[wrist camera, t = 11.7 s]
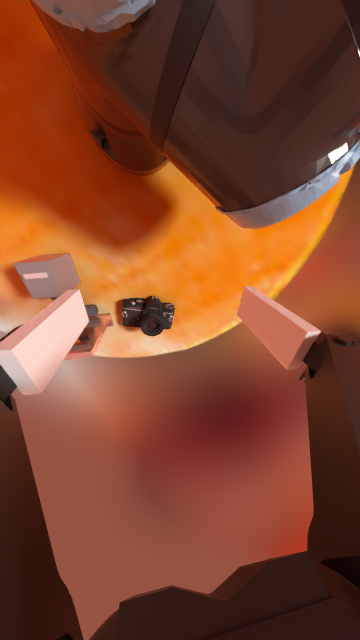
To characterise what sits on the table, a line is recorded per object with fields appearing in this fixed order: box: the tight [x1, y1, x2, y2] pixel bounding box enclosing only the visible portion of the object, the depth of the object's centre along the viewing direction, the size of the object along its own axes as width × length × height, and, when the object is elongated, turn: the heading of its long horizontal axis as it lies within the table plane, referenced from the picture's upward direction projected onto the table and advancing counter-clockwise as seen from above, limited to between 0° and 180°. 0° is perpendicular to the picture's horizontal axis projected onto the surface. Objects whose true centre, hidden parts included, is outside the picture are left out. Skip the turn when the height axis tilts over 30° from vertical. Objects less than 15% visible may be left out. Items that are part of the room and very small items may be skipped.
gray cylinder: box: [85, 305, 98, 316], centre depth 37 cm, size 10×2×2 cm, turn 92°
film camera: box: [122, 296, 175, 336], centre depth 39 cm, size 13×8×10 cm
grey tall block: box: [13, 253, 81, 300], centre depth 30 cm, size 7×5×9 cm
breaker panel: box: [64, 313, 113, 360], centre depth 34 cm, size 4×13×14 cm, turn 92°
